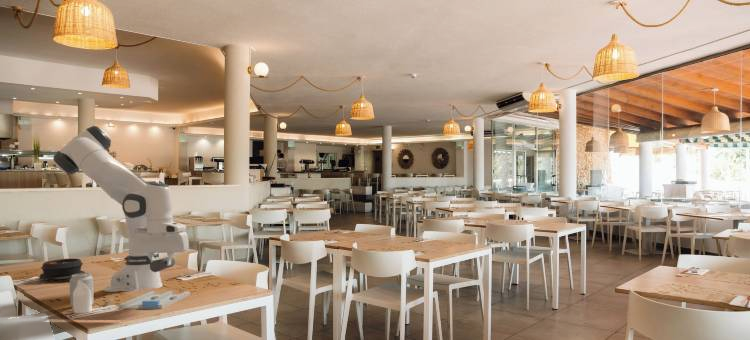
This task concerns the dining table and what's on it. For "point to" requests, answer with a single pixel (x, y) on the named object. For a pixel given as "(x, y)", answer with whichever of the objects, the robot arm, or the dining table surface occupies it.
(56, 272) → the casserole
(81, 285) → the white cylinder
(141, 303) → the grey shallow tray
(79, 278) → the can
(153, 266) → the dark grey capsule
